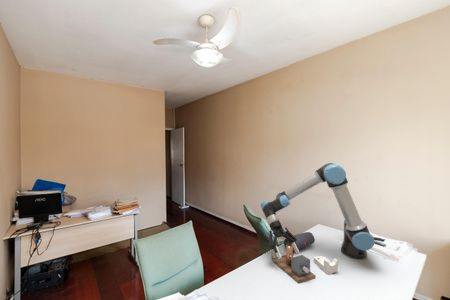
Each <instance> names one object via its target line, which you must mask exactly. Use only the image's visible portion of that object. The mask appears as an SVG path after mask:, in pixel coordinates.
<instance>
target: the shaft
mask: <svg viewBox="0 0 450 300" xmlns="http://www.w3.org/2000/svg"><path fill="white" fill-rule="evenodd" d="M293 254H294V251H293V246H292V245H286V248H285V255H286V264H287V265H291V258H292V257H294V255H293ZM302 270H303V271H305V272H306V273H309V272H311V269H310V270H309V269H308V268H307V267H305V266H302Z"/></svg>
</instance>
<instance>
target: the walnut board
mask: <svg viewBox="0 0 450 300" xmlns="http://www.w3.org/2000/svg"><path fill="white" fill-rule="evenodd" d="M281 257H282V258H280V259H278V256H276V257H273V258H271V262H272V261H273V262H272V263H274V264H275V265H276V266H277V267H278V268H280V269H281V270H282V272H285V273H286V274H287V275H288V276H289V277H290V278H292V279H293V280H294V281H295V282H296V283H297V284H301V283H304V282H307V281H311V280H313V279H316V274H314V273H313V272H312V271H310V274H309V275H306V276H302V277H298V276H296V275H295V274H294V273H293V272H291V265H287V264H286V254H284V255H281Z"/></svg>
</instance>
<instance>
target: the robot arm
mask: <svg viewBox="0 0 450 300" xmlns="http://www.w3.org/2000/svg"><path fill="white" fill-rule="evenodd" d="M320 183H323V184H324V183H326V185H327V187H328V188H329V189H331V190H332V192H333V194H334V197H335V200H336V202H337V204H338V207H339V208H340V211H341V213H342V216H343V219H344V221H343V242H342V243H341V247H340V252H341V253H342V254H343V255H345V256H347V257H348V258H352V259H357V260H365V259H366V258H367V257H368V252H367V251H369V250H372V249H373V247H374V245H375V238H374V236H373V235H372V234H371V233H370V231H369V228H368V226H367V224H366V223H365V222H364V221H363V220H362V218H361V216H360V214H359V211H358V209H357V207H356V204H355V202H354V200H353V197H352V195H351V192H350V191H349V189H348V186H347V185H348V183H349V181H348V179H347V174H346V170H344V168H343V167H342V166H341V165H339V164H336V163H332V162H329V163H326V164H324V165H322V166H321V167H319V168H318V169H316V170H315V171H314V173H313V174H311V175H309V176H307V177H305V178H304V179H302V180H301V181H299V182H296V183H295V184H293V185H292V186H290V187H289V188H287V189H285V190H283V191H281V192H279V193H277V195H276V196H275V199H274V200H272V201H270V200H268V199H267V200H265V201H262V202H261V203H260V208H261V211H262V212H263V214H264V217H265V219H266V221H267V223H268V226H269V229H270V230H269V231H268V233H267V235H268V248H272V249H273V251H274V254H276V257H278V259H280V258H282V257H281V256H282V254H281V252H280V250H279V247H278V245H277V240H278V238H282V237H283V238H284V239H287V240H289V241H290V242H291V243H292V246H293V248H294V252H295V255H298V254H300V250H298V248H297V244H296V241H297V239H296V238H295V237H294V235H293V233H291V232H290V231H289V229H288V228H287V227H284V228H283V226H282V223H281V222H280V219H279V217H278V215H277V212H279V211H281V210H283V209H286V208H288V207H289V206H290V205H291V202H290V201H291V200H292V199H294V198H296V197H297V196H299V195H301V194H303V193H305V192H307V191H309V190H310V189H312V188H314V187H315V186H317V185H319V184H320ZM294 239H295V240H294Z"/></svg>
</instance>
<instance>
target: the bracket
mask: <svg viewBox="0 0 450 300" xmlns="http://www.w3.org/2000/svg"><path fill="white" fill-rule="evenodd" d="M313 264H315V265H316V266H317V268H319V269H320V270H321V271H322V272H324V274H325V275H332V274H333V273H334V274H335V273H339V260H338V259H337V258H336V257H335V258H333V260H332V261H331V260H329V259H328V258H327V257H325V256H323V255H322V256H321V255H320V256H313Z"/></svg>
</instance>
